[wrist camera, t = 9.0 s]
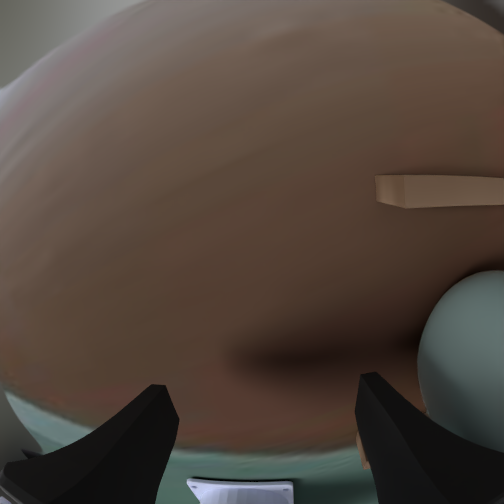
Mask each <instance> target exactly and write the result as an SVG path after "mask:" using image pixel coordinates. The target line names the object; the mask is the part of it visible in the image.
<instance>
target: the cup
mask: <svg viewBox="0 0 504 504" xmlns="http://www.w3.org/2000/svg"><path fill="white" fill-rule="evenodd" d="M417 377H418V383H419V389H420V393H421V397H422V400H423V403H424V406H425V409H426V412H427V414H428V417H429V418H430V419H431V420H433V421H434V422H436V423H437V424H439V425H440V426H442V427H444V428H445V429H447V430H449V431H450V432H452V433H454V434H456V435H458V436H460V437H462V438H464V439H466V440H468V441H471V442H473V443H475V444H478V445H481V446H483V447H486V448H489V449H493V450H496V451H500V452H504V270H487V271H482V272H478V273H475V274H472V275H470V276H467V277H465V278H463V279H462V280H460V281H459V282H457V283H456V284H454V285H453V286H452V287H451V288H450V289H449V290H448V291H447V292H446V293H444V294H443V296H442V297H441V298H440V300H439V301H438V302H437V303H436V305H435V307H434V308H433V310H432V312H431V313H430V315H429V318H428V320H427V322H426V324H425V327H424V329H423V333H422V336H421V339H420V342H419V347H418V353H417Z"/></svg>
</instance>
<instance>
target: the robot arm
mask: <svg viewBox="0 0 504 504" xmlns="http://www.w3.org/2000/svg"><path fill="white" fill-rule="evenodd" d="M355 415H356V420H357V425H358V430H359V434H360V438H361V441H362V444H363V447H364V450H365V453H366V456H367V459H368V462H369V465H370V468H371V471H372V474H373V477H374V481H375V485H376V490H377V496H378V502H379V504H504V452H500V451H496V450H493V449H489V448H486V447H483V446H481V445H478V444H475V443H473V442H471V441H468V440H466V439H464V438H462V437H460V436H458V435H456V434H454V433H452V432H450V431H449V430H447V429H445V428H444V427H442V426H440V425H439V424H437V423H436V422H434V421H433V420H431V419H430V418H429V417H427V416H426V415H425V414H423V413H422V412H421V411H419V410H418V409H417V408H416V407H414V406H413V405H412V404H411V403H410V402H409V401H407V400H406V399H405V398H404V397H403V396H402V395H401V394H399V393H398V392H397V391H396V390H395V389H394V388H393V387H392V386H391V385H390V384H389V383H388V382H387V381H386V380H385V379H383V378H382V377H381V376H380V375H379V374H378V373H377V372H372V373H366V374H361V375H360V381H359V388H358V395H357V401H356V407H355ZM178 425H179V417H178V415H177V413H176V410H175V408H174V406H173V403H172V401H171V398H170V396H169V393H168V391H167V388H166V385H154V384H151V385H150V386H149V387H148V388H146V389H145V390H144V391H143V392H142V393H141V394H139V395H138V396H137V397H136V398H135V399H134V400H133V401H131V402H130V403H129V404H128V405H127V406H125V407H124V408H123V409H122V410H121V411H119V412H118V413H117V414H116V415H115V416H113V417H112V418H111V419H109V420H108V421H107V422H105V423H104V424H103V425H101V426H100V427H98V428H97V429H96V430H94V431H93V432H91V433H90V434H88V435H86V436H85V437H83V438H81V439H79V440H78V441H76V442H74V443H72V444H70V445H68V446H65V447H63V448H61V449H59V450H56V451H54V452H51V453H48V454H45V455H42V456H39V457H35V458H31V459H27V460H21V461H15V462H8V463H7V464H6V465H5V466H4V468H3V469H2V471H1V472H0V488H1V489H2V490H3V491H4V492H5V493H6V494H8V495H9V496H10V497H11V498H12V499H13V500H14V501H16V502H17V503H18V504H155V501H156V496H157V492H158V488H159V485H160V482H161V479H162V476H163V473H164V471H165V468H166V465H167V462H168V460H169V457H170V454H171V451H172V449H173V446H174V443H175V440H176V435H177V430H178ZM187 484H188V486H189V487H190V489H191V490H192V491H193V493H194V494H195V495H196V497H197V498H198V499H199V501H200V504H294V502H293V482H291V481H278V482H228V481H213V480H202V479H193V478H190V479H188V480H187ZM0 504H11V503H10V502H9V501H8V500H7V499H5V498H4V497H3V496H1V498H0Z"/></svg>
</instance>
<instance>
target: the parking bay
mask: <svg viewBox="0 0 504 504" xmlns="http://www.w3.org/2000/svg"><path fill="white" fill-rule="evenodd" d="M375 184H376V198H377V201H378V202H382V203H386V204H390V205H394V206H398V207H402V208H421V207H442V206H469V205H504V178H495V177H480V176H458V175H375ZM423 414H425V415H426V416H427V417H428V414H427V412H426V413H423ZM356 442H357V446H358V450H359V454H360V458H361V462H362V466H363V470H364V469H369V468H370V465H369V462H368V459H367V456H366V453H365V450H364V447H363V444H362V441H361V438H360V434H359V431H358V433H357V437H356Z"/></svg>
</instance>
